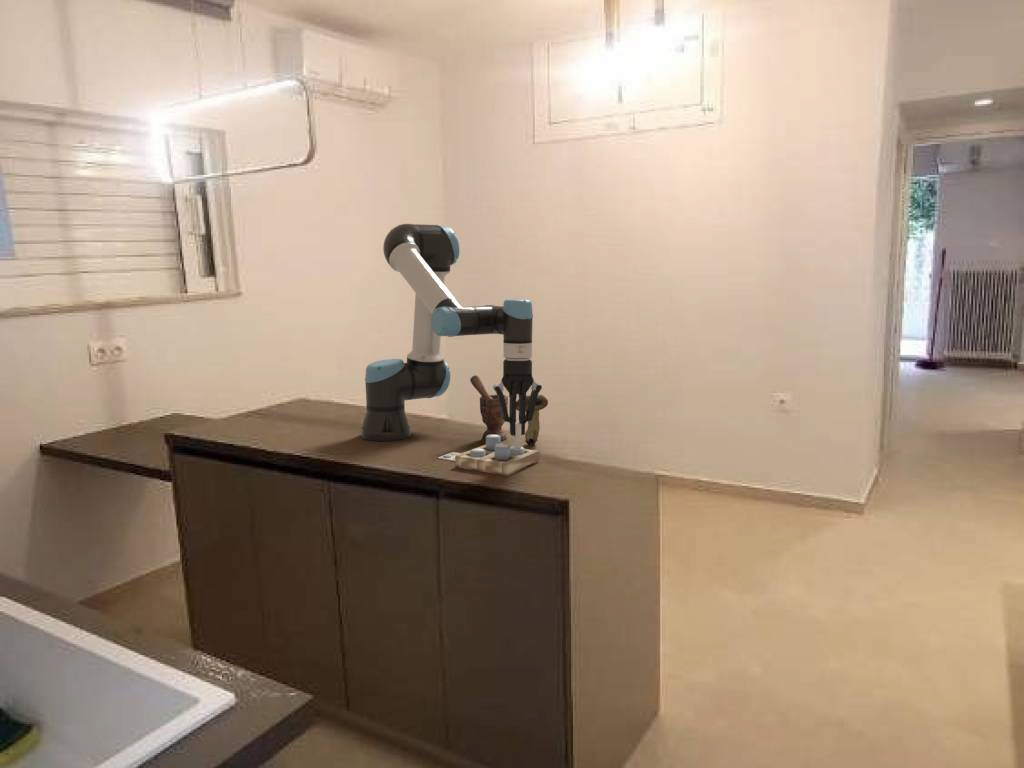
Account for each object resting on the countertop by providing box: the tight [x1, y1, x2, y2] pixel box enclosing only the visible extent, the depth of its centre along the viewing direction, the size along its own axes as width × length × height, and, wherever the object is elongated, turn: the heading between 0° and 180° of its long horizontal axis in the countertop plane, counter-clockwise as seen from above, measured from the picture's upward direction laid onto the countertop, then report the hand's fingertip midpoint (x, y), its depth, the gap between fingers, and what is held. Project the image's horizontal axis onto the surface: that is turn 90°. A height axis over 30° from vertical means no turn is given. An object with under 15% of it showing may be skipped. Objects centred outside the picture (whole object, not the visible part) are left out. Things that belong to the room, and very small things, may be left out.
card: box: [437, 451, 463, 462], centre depth 196 cm, size 7×7×1 cm
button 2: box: [485, 435, 502, 451], centre depth 194 cm, size 4×4×4 cm
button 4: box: [510, 446, 526, 455], centre depth 191 cm, size 4×4×4 cm
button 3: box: [494, 443, 511, 461], centre depth 184 cm, size 4×4×4 cm
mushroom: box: [516, 393, 549, 446], centre depth 210 cm, size 9×9×15 cm
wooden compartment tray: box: [454, 444, 540, 477], centre depth 189 cm, size 16×16×3 cm
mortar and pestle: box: [469, 374, 509, 441], centre depth 216 cm, size 12×9×20 cm
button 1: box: [469, 447, 486, 458], centre depth 188 cm, size 4×4×4 cm
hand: (517, 447), depth 190 cm, fingers closed
